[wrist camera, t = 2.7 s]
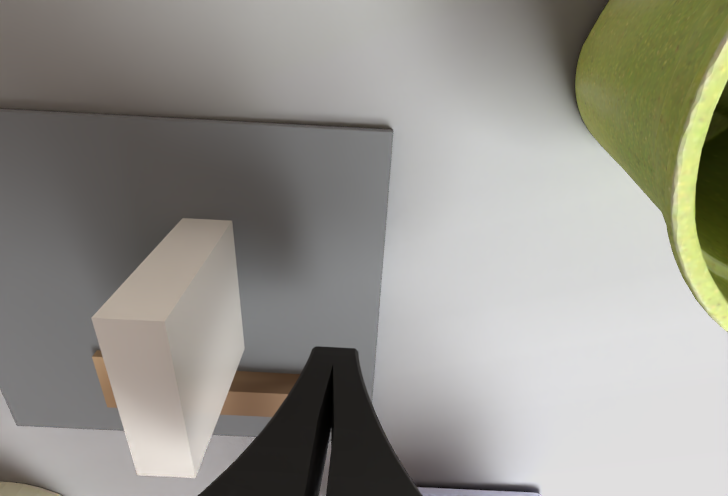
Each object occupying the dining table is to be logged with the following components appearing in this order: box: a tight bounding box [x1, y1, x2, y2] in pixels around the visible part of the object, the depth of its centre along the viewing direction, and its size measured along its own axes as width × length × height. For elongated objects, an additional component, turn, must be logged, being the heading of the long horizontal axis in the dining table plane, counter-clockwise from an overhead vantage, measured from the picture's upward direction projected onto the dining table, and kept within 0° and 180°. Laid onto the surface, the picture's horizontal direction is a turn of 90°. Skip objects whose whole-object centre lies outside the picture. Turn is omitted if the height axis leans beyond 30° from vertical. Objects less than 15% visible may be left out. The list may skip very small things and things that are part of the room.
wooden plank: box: [92, 350, 300, 417], centre depth 20 cm, size 11×3×1 cm, turn 87°
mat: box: [0, 109, 393, 440], centre depth 18 cm, size 15×17×1 cm
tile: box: [91, 218, 245, 478], centre depth 15 cm, size 6×2×6 cm, turn 177°
